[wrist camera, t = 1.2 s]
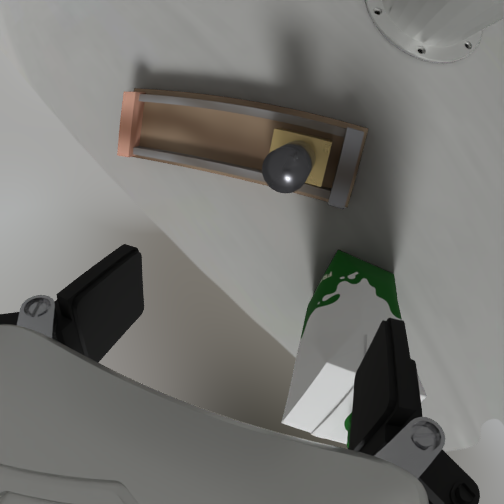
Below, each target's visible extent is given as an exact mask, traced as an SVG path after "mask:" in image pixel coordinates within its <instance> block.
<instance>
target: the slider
mask: <svg viewBox="0 0 504 504" xmlns="http://www.w3.org/2000/svg"><path fill="white" fill-rule="evenodd" d="M332 141H333V140H330V139H326V138H322V137H318V136H314V135H310V134H306V133H302V132H298V131H294V130H289V129H285V128H281V127H280V128H275V129H274V132H273V137H272V142H271V147H270V152H269V154H268V155H267V156H266V158H265V159H264V162H263V165H262V174H263V178H264V180H265V182H266V183H267V185H268V186H269V187H271V188H272V189H273V190H275V191H277V192H280V193H292V192H295V191H297V190H298V189H300V188H301V187H302V186H303V185H304V183H308V184H312V185H316V186H319V187H321V185H322V181H323V177H324V173H325V169H326V165H327V161H328V157H329V153H330V149H331V145H332Z"/></svg>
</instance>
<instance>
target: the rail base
mask: <svg viewBox="0 0 504 504" xmlns="http://www.w3.org/2000/svg"><path fill="white" fill-rule="evenodd" d="M280 127H281V128H285V129H289V130H294V131H298V132H302V133H306V134H310V135H314V136H318V137H322V138H326V139H330V140H333V141H332V145H331V149H330V153H329V157H328V161H327V165H326V169H325V173H324V177H323V181H322V185H321V187H319V186H316V185H312V184H308V183H304V185H303V186H302V187H301V188H300V189H298V190H297V191H295V192H293V193H297V194H301V195H305V196H308V197H312V198H316V199H319V200H323V201H326V202H328V205H331V206H335V207H338V208H342V209H344V207H348V203H349V200H350V197H351V193H352V189H353V186H354V182H355V179H356V175H357V171H358V168H359V164H360V160H361V156H362V152H363V148H364V144H365V140H366V136H367V132H368V128H364V127H361V126H358V125H354V124H351V123H347V122H343V121H340V120H336V119H332V118H328V117H324V116H320V115H316V114H312V113H308V112H304V111H299V110H295V109H290V108H285V107H281V106H276V105H270V104H265V103H260V102H254V101H248V100H242V99H236V98H229V97H222V96H215V95H207V94H199V93H190V92H180V91H168V90H155V89H137V88H134V92H124V94H123V102H122V111H121V120H120V130H119V141H118V154H117V155H119V156H124V157H137V158H142V159H147V160H153V161H158V162H163V163H168V164H173V165H178V166H183V167H188V168H193V169H197V170H202V171H207V172H211V173H216V174H220V175H225V176H229V177H233V178H237V179H242V180H246V181H250V182H254V183H258V184H262V185H266V186H268V185H267V183H266V182H265V180H264V178H263V174H262V165H263V162H264V159H265V158H266V156H267V155H268V154H269V152H270V147H271V142H272V137H273V132H274V129H275V128H280Z"/></svg>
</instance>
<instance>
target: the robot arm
mask: <svg viewBox="0 0 504 504" xmlns="http://www.w3.org/2000/svg"><path fill="white" fill-rule="evenodd" d="M365 3H366V6H367V9H368V13H369V15H370V17H371V19H372V21H373V23H374V24H375V25H376V27H377V28H378V29H379V31H380V32H381V33H382V34H383V35H384V36H385V37H386V38H387V39H388V40H389V41H390V42H391V43H392V44H394V45H395V46H396V47H397V48H399V49H400V50H402V51H404V52H405V53H407V54H409V55H411V56H413V57H416V58H418V59H420V60H424V61H428V62H432V63H450V62H455V61H458V60H461V59H463V58H465V57H467V56H468V55H470V54H471V53H472V52H473V51H474V50H475V49H476V47H477V46H478V44H479V43H480V40H481V37H482V32H483V29H484V28H486V27H488V26H490V25H492V24H494V23H496V22H497V21H499V20H501V19H503V18H504V0H365ZM375 12H379V15H377V14H375ZM465 45H466V46H467V48H466V47H465ZM418 50H421V52H422V53H421V54H420V53H419V52H418ZM143 310H144V298H143V281H142V257H141V253H140V252H139V251H138V249H137V248H136V247H133V246H129V245H126V244H124V245H122V246H120V247H119V248H118V249H116V250H115V251H113V252H112V253H111V254H109V255H108V256H106V257H105V258H104V259H102V260H101V261H100V262H98V263H97V264H96V265H94V266H93V267H92V268H90V269H89V270H88V271H86V272H85V273H84V274H82V275H81V276H80V277H78V278H77V279H76V280H74V281H73V282H72V283H71V284H69V285H68V286H67V287H65V288H64V289H63V290H62V291H60V292H59V293H58V294H57V300H56V301H55V302H54V300H53V299H52V298H50V297H49V296H45V295H37V296H33V297H31V298H29V299H27V300H26V301H25V302H24V303H23V304H22V306H21V308H20V312H17V313H16V312H15V313H8V314H0V504H478V503H479V498H480V493H479V489H478V486H477V484H476V483H475V482H474V481H473V480H472V479H471V478H470V477H469V476H468V475H467V474H466V473H465V472H464V471H463V470H462V469H461V468H460V467H459V466H458V465H457V464H456V463H455V462H454V461H453V460H452V459H451V458H450V457H449V456H448V455H447V454H446V453H445V452H444V451H443V450H442V448H443V446H444V444H445V435H444V432H443V430H442V428H441V427H440V425H439V424H438V423H437V422H435V421H434V420H432V419H430V418H427V417H422V408H421V399H420V391H419V383H418V376H417V369H416V364H415V361H414V360H411V359H410V353H409V347H408V341H407V335H406V329H405V323H404V321H402V320H398V319H394V318H388V319H387V321H385V320H383V321H382V322H381V324H380V326H379V328H378V330H377V332H376V334H375V336H374V338H373V340H372V342H371V344H370V346H369V348H368V350H367V352H366V354H365V356H364V358H363V360H362V362H361V364H360V366H359V367H358V369H357V371H356V374H355V379H354V393H353V407H352V419H351V429H350V439H349V448H348V449H345V448H341V447H336V446H332V445H327V444H322V443H318V442H313V441H309V440H306V439H302V438H297V437H293V436H290V435H286V434H282V433H278V432H275V431H271V430H267V429H264V428H261V427H257V426H254V425H250V424H247V423H244V422H241V421H238V420H235V419H231V418H229V417H226V416H223V415H220V414H217V413H214V412H211V411H208V410H205V409H203V408H200V407H197V406H194V405H192V404H189V403H187V402H184V401H182V400H179V399H177V398H174V397H171V396H169V395H167V394H164V393H162V392H160V391H157V390H155V389H153V388H150V387H148V386H146V385H143V384H141V383H139V382H137V381H134V380H132V379H130V378H128V377H126V376H124V375H122V374H120V373H117V372H115V371H113V370H111V369H109V368H107V367H105V366H103V365H101V364H99V363H98V362H99V361H100V360H101V359H102V358H103V356H104V355H105V354H106V353H107V352H108V351H109V350H110V349H111V348H112V346H113V345H114V344H115V343H116V342H117V341H118V339H120V338H121V336H122V335H123V334H124V333H125V332H126V330H128V329H129V328H130V326H131V325H132V324H133V323H134V322H135V321H136V320H137V319H138V318H139V317H140V315H141V314H142V312H143Z"/></svg>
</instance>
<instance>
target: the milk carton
mask: <svg viewBox="0 0 504 504" xmlns="http://www.w3.org/2000/svg"><path fill="white" fill-rule="evenodd" d="M388 318H394V319H398V320H402V319H401V314H400V309H399V305H398V301H397V293H396V285H395V278H394V274H392V273H390V272H388V271H385V270H383V269H381V268H379V267H376V266H374V265H372V264H370V263H367V262H365V261H363V260H361V259H358V258H356V257H354V256H351V255H349V254H347V253H345V252H342V251H340V250H338V251H337V252H336V254H335V256H334V258H333V260H332V262H331V263H330V265H329V267H328V269H327V271H326V272H325V274H324V276H323V278H322V280H321V281H320V283H319V285H318V287H317V289H316V291H315V293H314V295H313V297H312V299H311V301H310V303H309V305H308V308H307V312H306V316H305V321H304V326H303V330H302V335H301V340H300V344H299V348H298V353H297V357H296V362H295V366H294V371H293V376H292V380H291V385H290V390H289V394H288V399H287V403H286V407H285V411H284V415H283V419H282V423H283V424H286V425H289V426H292V427H295V428H298V429H301V430H304V431H307V432H311V435H314V436H317V437H320V438H326V439H330V440H333V441H337V442H341V443H345V444H347V447H348V448H349V439H350V429H351V419H352V407H353V393H354V379H355V374H356V371H357V369H358V367H359V366H360V364H361V362H362V360H363V358H364V356H365V354H366V352H367V350H368V348H369V346H370V344H371V342H372V340H373V338H374V336H375V334H376V332H377V330H378V328H379V326H380V324H381V322H382V321H383V320H385V321H387V319H388ZM410 359H411V358H410ZM417 376H418V374H417ZM418 383H419V391H420V399H421V402H422V401H423V400H424V399H425V397H426V393H425V390H424V388H423V386H422V383H421V381H420V379H419V376H418Z"/></svg>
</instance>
